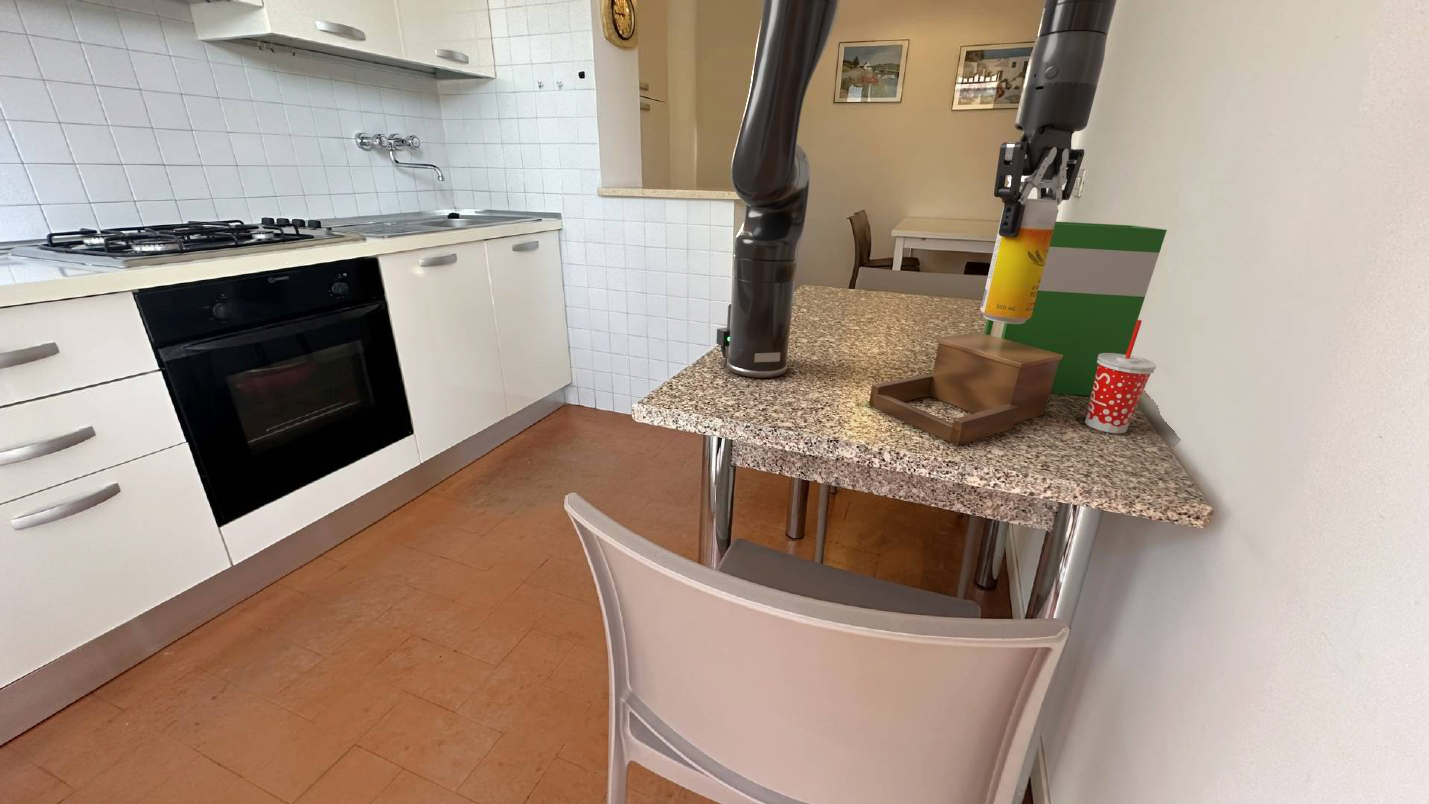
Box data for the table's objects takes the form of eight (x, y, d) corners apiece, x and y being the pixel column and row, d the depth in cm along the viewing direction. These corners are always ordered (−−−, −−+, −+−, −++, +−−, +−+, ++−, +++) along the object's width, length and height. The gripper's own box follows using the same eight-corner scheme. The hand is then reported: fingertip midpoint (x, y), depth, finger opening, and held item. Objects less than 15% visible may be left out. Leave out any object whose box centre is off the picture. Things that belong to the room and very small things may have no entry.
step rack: (868, 405, 77) (877, 345, 74) (962, 384, 87) (974, 330, 84) (957, 446, 66) (972, 377, 63) (1052, 416, 77) (1069, 356, 73)
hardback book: (991, 388, 86) (1031, 222, 77) (974, 373, 93) (1009, 218, 84) (1112, 396, 85) (1166, 229, 76) (1086, 380, 92) (1133, 225, 83)
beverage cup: (1075, 413, 78) (1106, 312, 73) (1128, 422, 76) (1164, 319, 71) (1080, 429, 73) (1114, 321, 68) (1137, 439, 70) (1177, 329, 65)
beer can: (1035, 326, 72) (1068, 201, 66) (984, 322, 73) (1013, 197, 67) (1021, 316, 78) (1051, 199, 72) (974, 312, 79) (1000, 196, 73)
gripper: (1060, 94, 72) (1027, 233, 78) (991, 79, 65) (961, 233, 71) (1125, 89, 66) (1084, 239, 72) (1058, 72, 59) (1018, 240, 65)
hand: (1023, 235), depth 71 cm, fingers closed on beer can, 6 cm apart
